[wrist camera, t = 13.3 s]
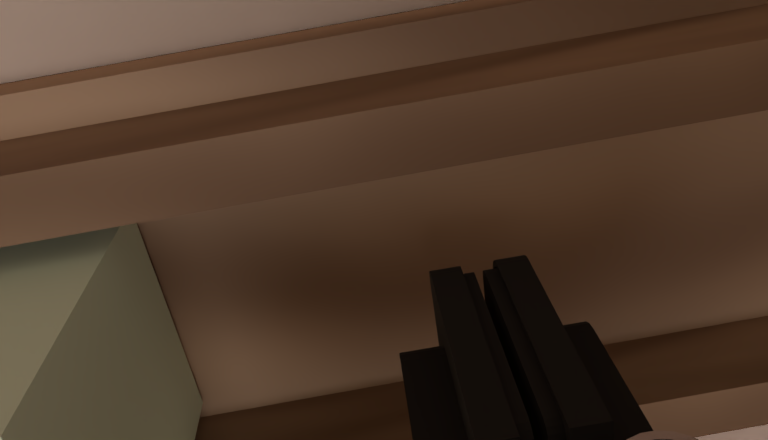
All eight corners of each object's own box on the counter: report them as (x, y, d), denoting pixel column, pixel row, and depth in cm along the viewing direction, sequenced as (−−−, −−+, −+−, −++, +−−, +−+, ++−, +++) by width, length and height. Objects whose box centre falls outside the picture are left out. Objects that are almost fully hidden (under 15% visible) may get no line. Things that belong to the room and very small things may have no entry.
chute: (-324, 142, 13) (-714, 306, 8) (1125, -117, 13) (1613, -112, 8) (-78, 502, 18) (-231, 744, 13) (992, 309, 18) (1250, 478, 13)
